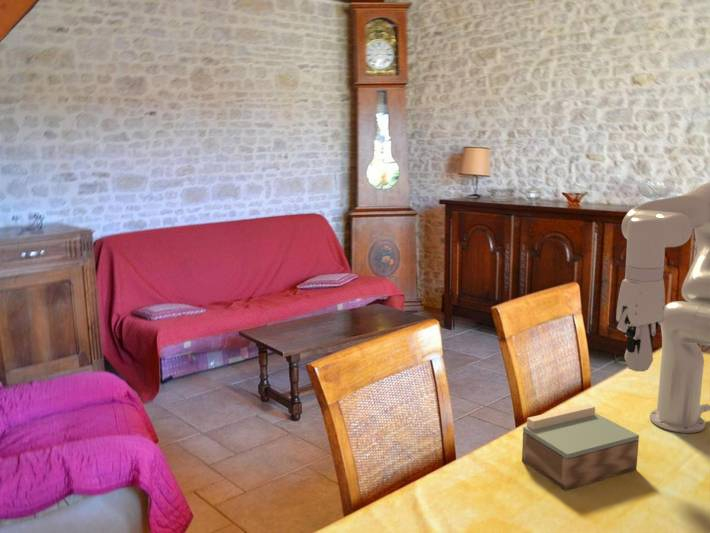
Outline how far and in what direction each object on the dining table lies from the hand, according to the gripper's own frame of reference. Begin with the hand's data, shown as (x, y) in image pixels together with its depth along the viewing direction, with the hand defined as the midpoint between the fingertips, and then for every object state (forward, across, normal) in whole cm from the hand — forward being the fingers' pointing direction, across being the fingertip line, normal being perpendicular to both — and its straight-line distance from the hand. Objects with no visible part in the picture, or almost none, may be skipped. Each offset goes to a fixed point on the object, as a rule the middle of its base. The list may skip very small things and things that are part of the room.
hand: (639, 352), depth 143 cm
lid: (+17, +15, -1) cm, 23 cm away
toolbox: (+24, +15, -1) cm, 29 cm away
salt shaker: (+4, 0, 0) cm, 4 cm away
